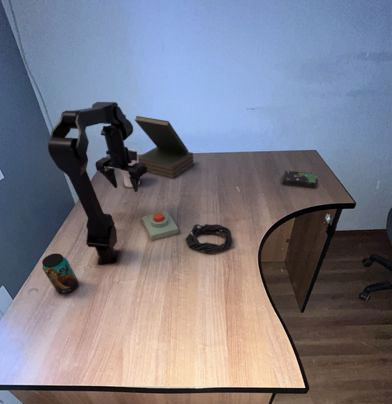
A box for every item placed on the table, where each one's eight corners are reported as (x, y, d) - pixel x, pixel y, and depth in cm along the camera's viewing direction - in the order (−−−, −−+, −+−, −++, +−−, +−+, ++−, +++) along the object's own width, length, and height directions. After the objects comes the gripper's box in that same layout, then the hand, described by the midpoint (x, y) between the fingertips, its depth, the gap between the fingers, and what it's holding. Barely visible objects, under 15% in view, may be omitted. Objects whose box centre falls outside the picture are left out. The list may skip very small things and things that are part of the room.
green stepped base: (178, 233, 103) (178, 224, 100) (151, 240, 101) (150, 231, 98) (168, 215, 112) (167, 206, 109) (142, 221, 110) (141, 213, 107)
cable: (238, 238, 100) (239, 228, 97) (222, 260, 92) (223, 251, 88) (198, 226, 106) (197, 217, 103) (180, 246, 98) (179, 237, 94)
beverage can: (56, 298, 82) (38, 270, 73) (57, 282, 87) (40, 254, 78) (79, 292, 83) (64, 264, 75) (79, 277, 88) (65, 249, 79)
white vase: (138, 189, 128) (132, 157, 117) (118, 188, 130) (110, 156, 119) (145, 179, 135) (140, 148, 124) (126, 178, 137) (119, 147, 126)
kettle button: (165, 221, 103) (164, 217, 102) (155, 223, 102) (154, 219, 101) (162, 215, 106) (161, 211, 104) (152, 218, 105) (152, 214, 103)
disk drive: (282, 185, 127) (314, 188, 124) (283, 179, 125) (316, 182, 122) (283, 175, 134) (314, 178, 130) (285, 170, 132) (316, 172, 128)
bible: (193, 164, 146) (191, 112, 128) (173, 178, 135) (167, 123, 117) (160, 156, 155) (154, 106, 137) (138, 169, 144) (128, 117, 126)
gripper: (151, 141, 92) (158, 184, 103) (108, 135, 97) (118, 177, 109) (134, 153, 85) (142, 198, 96) (88, 146, 90) (101, 189, 102)
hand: (126, 189), depth 101 cm, fingers open, 9 cm apart
